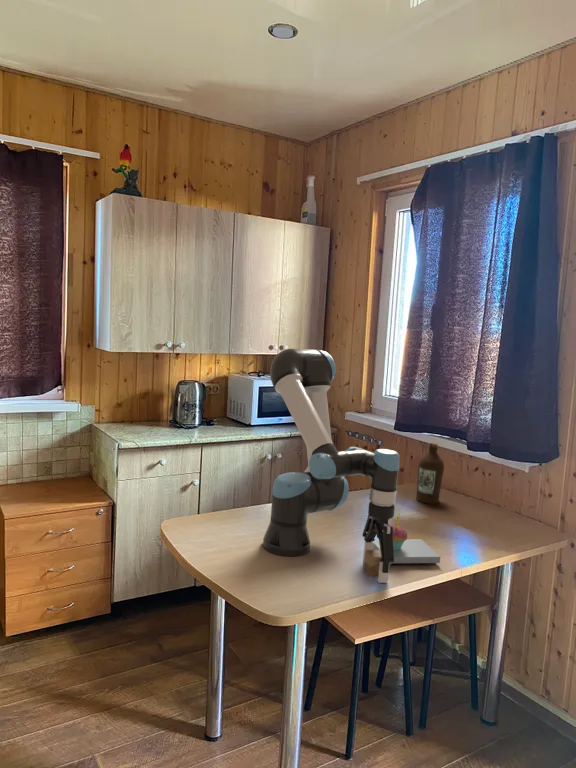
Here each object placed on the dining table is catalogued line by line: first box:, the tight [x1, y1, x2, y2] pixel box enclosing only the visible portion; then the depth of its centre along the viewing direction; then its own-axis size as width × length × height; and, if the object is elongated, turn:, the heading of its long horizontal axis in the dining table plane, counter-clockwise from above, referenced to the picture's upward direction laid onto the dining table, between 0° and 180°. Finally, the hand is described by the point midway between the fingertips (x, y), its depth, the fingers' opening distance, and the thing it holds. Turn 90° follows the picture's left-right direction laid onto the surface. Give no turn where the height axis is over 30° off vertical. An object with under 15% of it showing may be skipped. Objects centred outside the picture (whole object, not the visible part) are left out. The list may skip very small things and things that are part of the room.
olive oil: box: [415, 442, 445, 505], centre depth 249 cm, size 11×11×25 cm
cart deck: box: [371, 538, 441, 567], centre depth 187 cm, size 18×14×3 cm
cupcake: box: [388, 513, 408, 551], centre depth 186 cm, size 9×8×12 cm
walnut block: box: [363, 550, 382, 578], centre depth 174 cm, size 5×5×6 cm
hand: (374, 572), depth 174 cm, fingers open, 12 cm apart
